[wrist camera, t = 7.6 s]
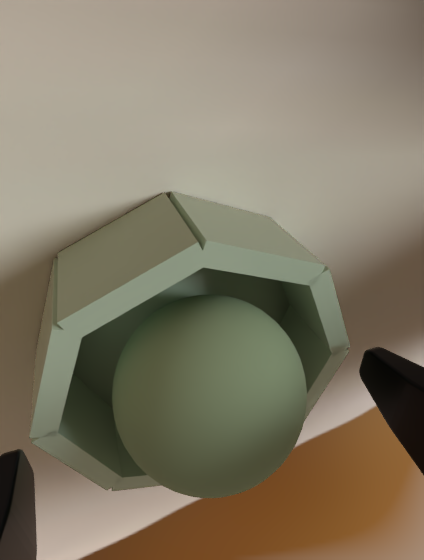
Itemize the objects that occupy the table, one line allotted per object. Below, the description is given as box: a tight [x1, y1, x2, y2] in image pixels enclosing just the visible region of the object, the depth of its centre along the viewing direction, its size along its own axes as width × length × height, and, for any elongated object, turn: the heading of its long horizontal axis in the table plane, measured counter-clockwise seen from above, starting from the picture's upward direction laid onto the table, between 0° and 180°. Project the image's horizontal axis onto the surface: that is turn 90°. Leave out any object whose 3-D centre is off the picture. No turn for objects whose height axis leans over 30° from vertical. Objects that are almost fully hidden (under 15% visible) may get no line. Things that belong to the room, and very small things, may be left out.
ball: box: [112, 294, 307, 498], centre depth 10 cm, size 5×5×5 cm
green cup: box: [29, 191, 350, 491], centre depth 11 cm, size 8×8×3 cm
